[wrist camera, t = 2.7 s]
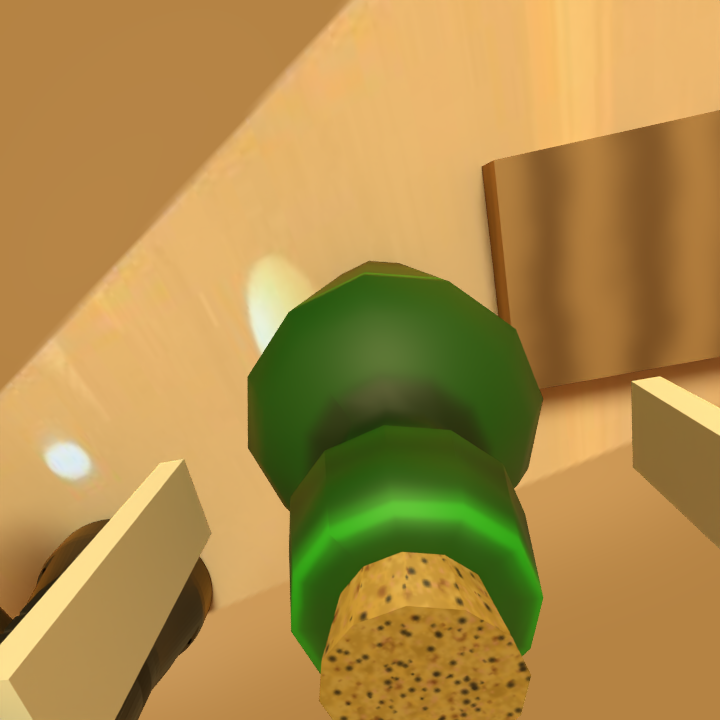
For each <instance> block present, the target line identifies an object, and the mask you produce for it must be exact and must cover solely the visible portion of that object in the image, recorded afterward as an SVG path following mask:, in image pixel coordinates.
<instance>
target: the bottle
mask: <svg viewBox="0 0 720 720" xmlns="http://www.w3.org/2000/svg"><path fill="white" fill-rule="evenodd" d="M542 401H543V397H542V395H541V392H540V390H539V387H538V384H537V382H536V379H535V377H534V374H533V372H532V369H531V366H530V364H529V361H528V359H527V356H526V354H525V351H524V348H523V346H522V343H521V341H520V338H519V336H518V333H517V331H516V329H515V328H514V327H512V326H511V325H510V324H508V323H507V322H505V321H504V320H503V319H501V318H500V317H498V316H497V315H496V314H494V313H493V312H491V311H490V310H489V309H487V308H486V307H484V306H483V305H482V304H480V303H479V302H477V301H476V300H474V299H473V298H472V297H470V296H469V295H467V294H466V293H465V292H463V291H462V290H460V289H459V288H458V287H456V286H455V285H453V284H452V283H451V282H449V281H446V280H443V279H441V278H438V277H435V276H432V275H430V274H427V273H424V272H422V271H419V270H416V269H413V268H411V267H408V266H405V265H402V264H400V263H388V262H375V261H368V262H366V263H364V264H362V265H360V266H358V267H356V268H354V269H352V270H350V271H348V272H346V273H344V274H342V275H340V276H339V277H337V278H336V279H335V280H333V281H332V282H330V283H329V284H328V285H326V286H325V287H323V288H322V289H321V290H319V291H318V292H316V293H315V294H314V295H312V296H311V297H309V298H308V299H307V300H305V301H304V302H302V303H301V304H300V305H298V306H297V307H295V308H294V309H293V310H291V311H290V312H289V313H288V314H287V316H286V317H285V319H284V320H283V322H282V324H281V325H280V327H279V328H278V330H277V331H276V333H275V335H274V336H273V338H272V339H271V341H270V343H269V344H268V346H267V347H266V349H265V350H264V352H263V354H262V355H261V357H260V358H259V360H258V361H257V363H256V365H255V366H254V368H253V369H252V371H251V372H250V374H249V376H248V449H249V450H250V452H251V453H252V455H253V457H254V458H255V460H256V461H257V463H258V465H259V466H260V468H261V469H262V471H263V473H264V474H265V476H266V477H267V479H268V481H269V482H270V484H271V485H272V487H273V489H274V490H275V492H276V493H277V495H278V497H279V498H280V500H281V501H282V503H283V505H284V506H285V507H286V508H287V509H288V510H289V511H290V534H289V563H290V596H291V597H290V600H291V632H292V633H293V635H294V636H295V637H296V639H297V641H298V642H299V643H300V645H301V646H302V648H303V649H304V651H305V652H306V654H307V655H308V656H309V658H310V659H311V661H312V662H313V664H314V665H315V667H316V668H317V670H318V671H319V673H320V674H321V679H320V696H319V701H320V702H321V704H322V705H323V707H324V708H325V710H326V711H327V713H328V714H329V715H330V717H331V718H332V719H333V720H516V719H517V718H518V717H519V716H520V715H521V712H522V708H523V704H524V701H525V697H526V693H527V689H528V685H529V681H530V677H531V674H530V672H529V670H528V668H527V666H526V664H525V662H524V660H523V658H522V656H523V655H524V654H525V653H526V652H527V651H528V650H529V649H530V648H531V644H532V640H533V636H534V633H535V629H536V625H537V621H538V616H539V612H540V609H541V605H542V600H543V595H542V590H541V586H540V581H539V577H538V572H537V567H536V563H535V558H534V553H533V549H532V544H531V540H530V535H529V531H528V526H527V521H526V517H525V513H524V511H523V509H522V506H521V504H520V502H519V499H518V497H517V495H516V493H515V490H514V488H515V487H516V486H517V485H518V483H519V482H520V480H521V479H522V477H523V476H524V474H525V472H526V471H527V469H528V467H529V462H530V457H531V453H532V448H533V443H534V439H535V434H536V429H537V425H538V420H539V415H540V411H541V406H542Z"/></svg>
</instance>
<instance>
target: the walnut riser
mask: <svg viewBox="0 0 720 720" xmlns="http://www.w3.org/2000/svg"><path fill="white" fill-rule="evenodd" d="M482 171H483V180H484V189H485V198H486V207H487V216H488V225H489V234H490V242H491V251H492V260H493V269H494V278H495V287H496V296H497V305H498V314H499V317H500V318H501V319H503V320H504V321H505V322H507V323H508V324H510V325H511V326H512V327H514V328H515V329H516V331H517V333H518V336H519V338H520V341H521V343H522V346H523V348H524V351H525V354H526V356H527V359H528V361H529V364H530V366H531V369H532V372H533V374H534V377H535V379H536V382H537V384H538V387H539V389H543V388H548V387H554V386H560V385H565V384H571V383H576V382H582V381H587V380H593V379H599V378H604V377H610V376H615V375H621V374H626V373H632V372H638V371H643V370H649V369H654V368H660V367H666V366H671V365H677V364H682V363H688V362H693V361H699V360H705V359H710V358H716V357H720V110H719V111H714V112H710V113H705V114H701V115H696V116H692V117H687V118H683V119H678V120H674V121H669V122H665V123H660V124H656V125H651V126H647V127H642V128H638V129H633V130H629V131H624V132H620V133H615V134H611V135H606V136H602V137H597V138H593V139H588V140H584V141H579V142H575V143H570V144H566V145H561V146H557V147H552V148H548V149H543V150H539V151H534V152H530V153H525V154H520V155H516V156H511V157H507V158H502V159H498V160H494V161H492V162H490V163H488V164H486V165H484V166H482Z"/></svg>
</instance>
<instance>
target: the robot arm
mask: <svg viewBox="0 0 720 720" xmlns="http://www.w3.org/2000/svg"><path fill="white" fill-rule="evenodd" d="M631 393H632V445H633V468H634V469H636V470H637V471H638V472H639V473H640V474H641V475H642V476H643V477H644V478H645V479H646V480H647V481H648V482H649V483H650V484H651V485H652V486H654V487H655V488H656V489H657V490H658V491H659V492H660V493H661V494H662V495H663V496H664V497H665V498H666V499H667V500H669V502H671V503H672V504H673V505H674V506H675V507H676V508H677V509H678V510H679V511H680V512H681V513H682V514H683V515H684V516H685V517H687V518H688V519H689V520H690V521H691V522H692V523H693V524H694V525H695V526H696V527H697V528H698V529H699V530H700V531H701V532H702V533H703V534H705V535H706V536H707V537H708V538H709V539H710V540H711V541H712V542H713V543H714V544H715V545H716V546H717V547H718V548H719V549H720V408H718V407H716V406H715V405H713V404H711V403H709V402H707V401H705V400H703V399H702V398H700V397H698V396H696V395H694V394H692V393H690V392H688V391H687V390H685V389H683V388H681V387H679V386H677V385H675V384H674V383H672V382H670V381H668V380H666V379H664V378H662V377H661V376H659V377H653V378H647V379H641V380H636V381H631ZM210 535H211V531H210V528H209V525H208V523H207V520H206V517H205V515H204V512H203V509H202V507H201V504H200V501H199V498H198V496H197V493H196V490H195V488H194V485H193V482H192V479H191V477H190V474H189V471H188V469H187V466H186V463H185V461H184V459H180V460H175V461H169V462H163V463H160V464H159V465H158V466H157V467H156V468H155V469H154V471H153V472H152V473H151V474H150V475H149V476H148V477H147V479H146V480H145V481H144V482H143V483H142V484H141V485H140V487H139V488H138V489H137V490H136V491H135V492H134V493H133V494H132V496H131V497H130V498H129V499H128V500H127V501H126V502H125V504H124V505H123V506H122V507H121V508H120V509H119V510H118V511H117V513H116V514H115V515H114V516H113V517H112V518H111V519H107V520H101V521H97V522H93V523H91V524H88V525H86V526H83V527H81V528H80V529H78V530H76V531H75V532H73V533H72V534H71V535H70V536H69V537H68V538H67V539H66V540H65V541H64V542H63V543H62V544H61V545H60V546H59V547H58V548H57V549H56V550H55V551H54V552H53V553H52V555H51V556H50V557H49V559H48V560H47V561H46V563H45V564H44V566H43V568H42V571H41V573H40V575H39V578H38V581H37V586H36V588H35V590H34V591H33V593H32V595H31V597H30V599H29V601H28V603H27V604H26V606H25V607H24V608H23V609H22V611H21V612H20V616H16V617H15V618H14V619H13V620H12V619H11V618H10V617H9V616H8V615H7V614H6V613H5V611H4V610H3V609H2V608H1V607H0V720H138V718H139V716H140V714H141V712H142V710H143V707H144V705H145V703H146V701H147V699H148V697H149V695H150V693H151V690H152V689H153V688H154V686H155V685H156V684H157V683H158V682H159V681H160V679H161V678H162V677H163V676H164V675H165V673H166V672H167V671H168V669H169V668H170V667H171V665H172V664H173V662H174V661H175V659H176V658H177V657H178V655H180V654H181V653H182V652H184V651H185V650H186V649H187V648H188V647H189V646H190V644H191V643H192V642H193V641H194V639H195V638H196V636H197V635H198V633H199V631H200V629H201V627H202V625H203V623H204V620H205V618H206V615H207V613H208V611H209V608H210V605H211V599H212V586H211V581H210V577H209V574H208V572H207V569H206V567H205V565H204V564H203V562H202V560H201V559H200V558H199V556H200V554H201V552H202V550H203V548H204V546H205V545H206V543H207V541H208V539H209V537H210Z"/></svg>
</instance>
